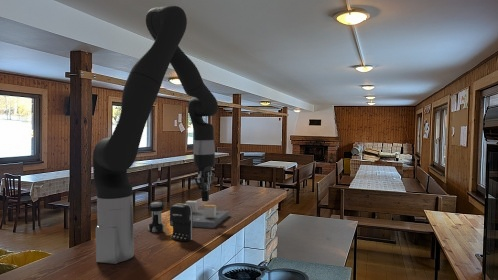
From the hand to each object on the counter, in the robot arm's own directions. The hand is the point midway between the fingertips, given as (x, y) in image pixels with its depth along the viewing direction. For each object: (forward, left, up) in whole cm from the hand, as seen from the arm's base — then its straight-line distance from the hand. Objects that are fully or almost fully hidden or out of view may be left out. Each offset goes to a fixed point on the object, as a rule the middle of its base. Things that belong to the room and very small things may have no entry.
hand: (205, 200), depth 128 cm
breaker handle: (+5, 0, -7) cm, 9 cm away
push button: (-9, +15, -10) cm, 20 cm away
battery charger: (-16, +2, -10) cm, 18 cm away
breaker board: (+8, +5, -10) cm, 14 cm away
